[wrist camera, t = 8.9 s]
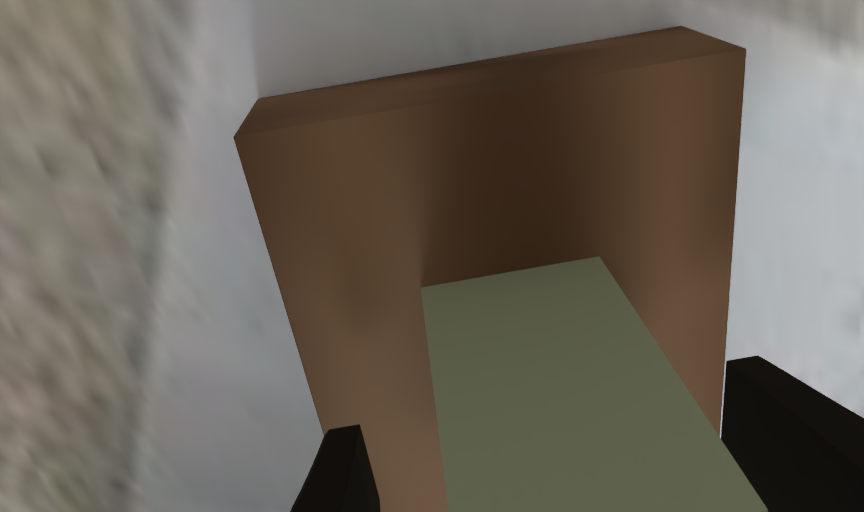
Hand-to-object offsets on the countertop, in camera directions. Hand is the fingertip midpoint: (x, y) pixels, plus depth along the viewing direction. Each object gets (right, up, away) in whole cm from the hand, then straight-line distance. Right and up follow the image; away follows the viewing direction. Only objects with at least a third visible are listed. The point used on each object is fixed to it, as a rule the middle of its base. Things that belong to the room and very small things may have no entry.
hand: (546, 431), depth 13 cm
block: (0, +1, +3) cm, 3 cm away
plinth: (0, +3, +5) cm, 6 cm away
